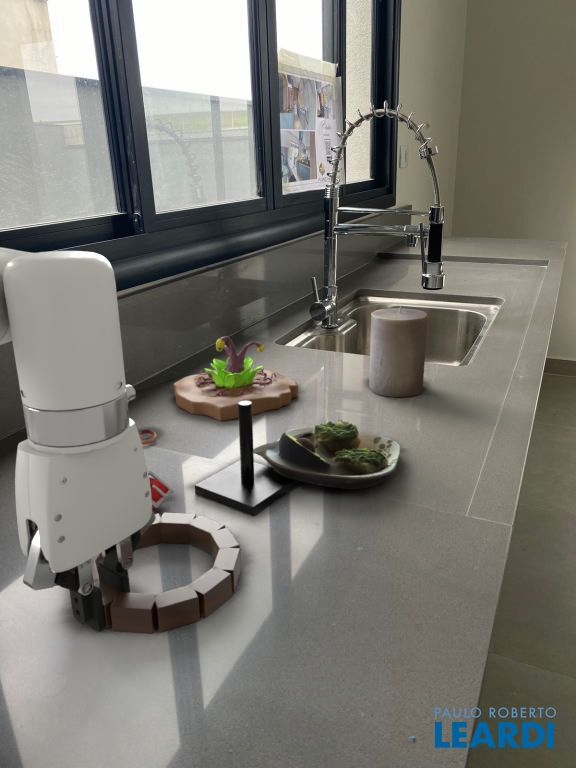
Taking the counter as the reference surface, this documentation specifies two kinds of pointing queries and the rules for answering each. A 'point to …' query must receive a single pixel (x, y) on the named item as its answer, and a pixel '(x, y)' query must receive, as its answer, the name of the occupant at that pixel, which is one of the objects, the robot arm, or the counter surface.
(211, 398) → the plant
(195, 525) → the ring
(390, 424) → the counter surface
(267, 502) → the stand
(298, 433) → the salad plate
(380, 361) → the pillar candle
